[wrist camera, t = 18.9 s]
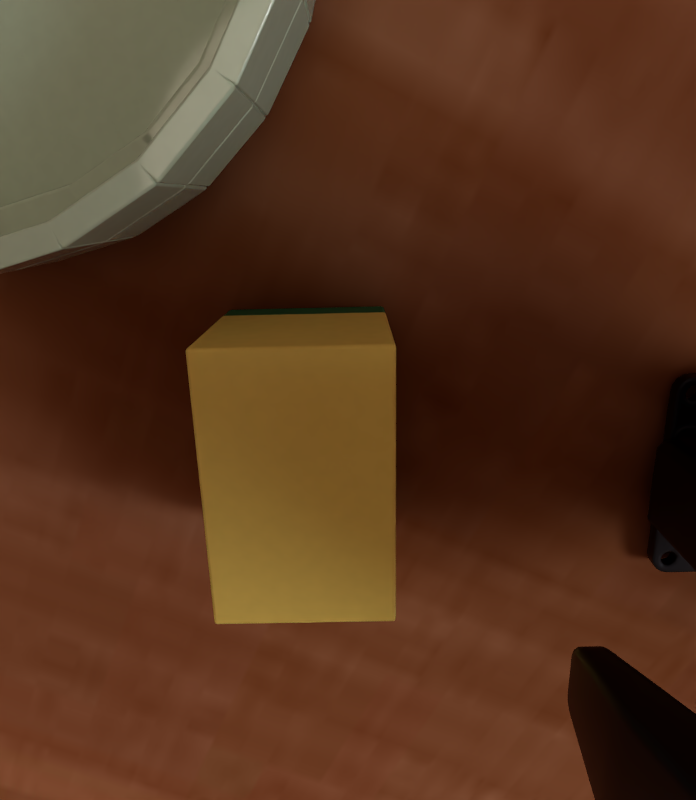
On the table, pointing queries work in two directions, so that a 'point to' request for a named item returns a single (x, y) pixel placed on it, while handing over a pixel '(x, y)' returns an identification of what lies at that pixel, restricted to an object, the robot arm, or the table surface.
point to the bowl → (127, 111)
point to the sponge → (297, 463)
